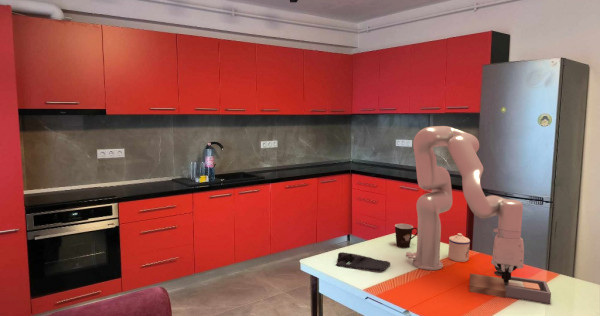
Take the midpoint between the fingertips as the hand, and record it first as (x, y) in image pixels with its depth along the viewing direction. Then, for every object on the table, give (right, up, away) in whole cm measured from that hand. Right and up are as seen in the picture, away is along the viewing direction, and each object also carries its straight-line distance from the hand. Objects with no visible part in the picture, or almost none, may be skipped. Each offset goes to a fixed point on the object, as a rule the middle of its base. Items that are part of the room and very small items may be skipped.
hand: (505, 281), depth 153 cm
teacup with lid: (-4, 0, +35) cm, 35 cm away
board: (-6, -4, +3) cm, 7 cm away
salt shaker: (+6, -2, +16) cm, 18 cm away
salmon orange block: (+8, -4, -2) cm, 9 cm away
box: (+6, -4, -2) cm, 8 cm away
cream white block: (+3, -4, -1) cm, 5 cm away
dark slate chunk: (-49, -1, +26) cm, 56 cm away
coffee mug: (-24, +2, +49) cm, 55 cm away
